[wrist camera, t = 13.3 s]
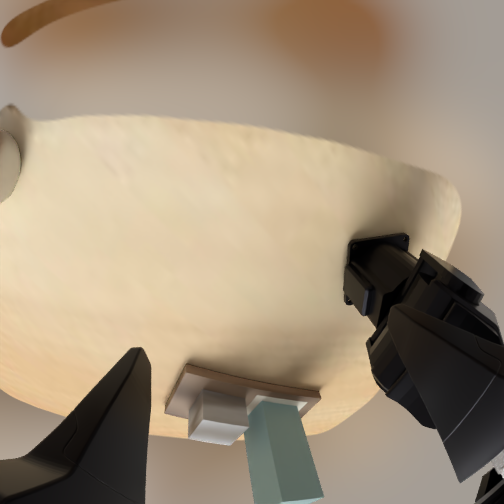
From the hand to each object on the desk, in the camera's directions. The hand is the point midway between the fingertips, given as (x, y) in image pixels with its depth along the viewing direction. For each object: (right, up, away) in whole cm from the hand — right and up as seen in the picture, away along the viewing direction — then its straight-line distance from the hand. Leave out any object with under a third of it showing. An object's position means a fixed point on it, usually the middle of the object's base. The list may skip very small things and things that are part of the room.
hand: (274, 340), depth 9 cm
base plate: (-2, -15, +21) cm, 26 cm away
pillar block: (+1, -17, +21) cm, 27 cm away
